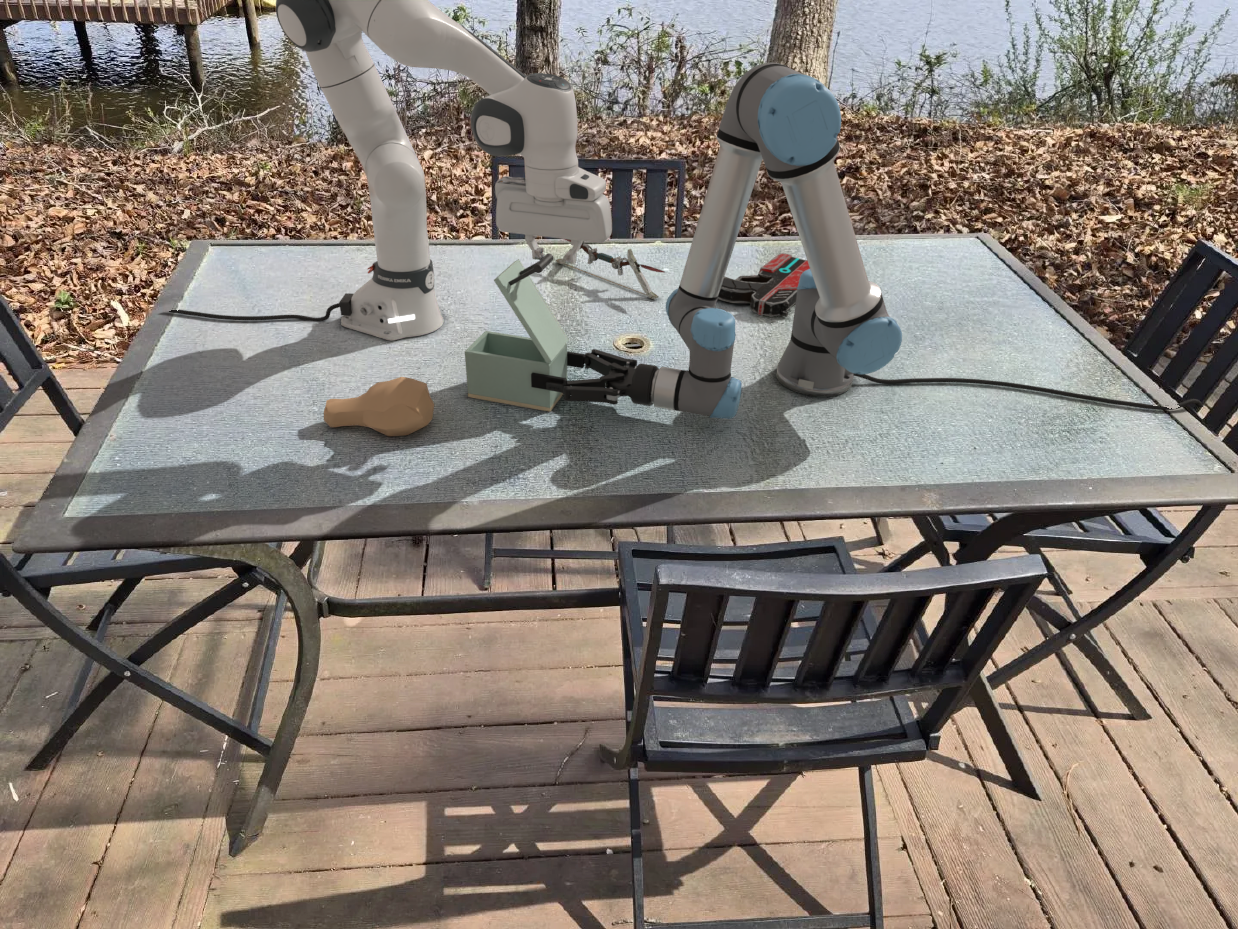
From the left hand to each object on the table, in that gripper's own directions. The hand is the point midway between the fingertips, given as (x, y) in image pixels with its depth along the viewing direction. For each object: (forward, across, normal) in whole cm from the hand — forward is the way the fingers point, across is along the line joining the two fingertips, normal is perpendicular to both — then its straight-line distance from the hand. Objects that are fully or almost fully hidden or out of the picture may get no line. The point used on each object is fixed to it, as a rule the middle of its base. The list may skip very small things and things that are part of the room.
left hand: (554, 260), depth 153 cm
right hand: (+21, -3, 0) cm, 22 cm away
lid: (+10, -5, 0) cm, 11 cm away
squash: (+27, -27, -20) cm, 43 cm away
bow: (+28, -10, +60) cm, 67 cm away
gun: (+28, +30, +68) cm, 80 cm away
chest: (+28, -8, 0) cm, 29 cm away
